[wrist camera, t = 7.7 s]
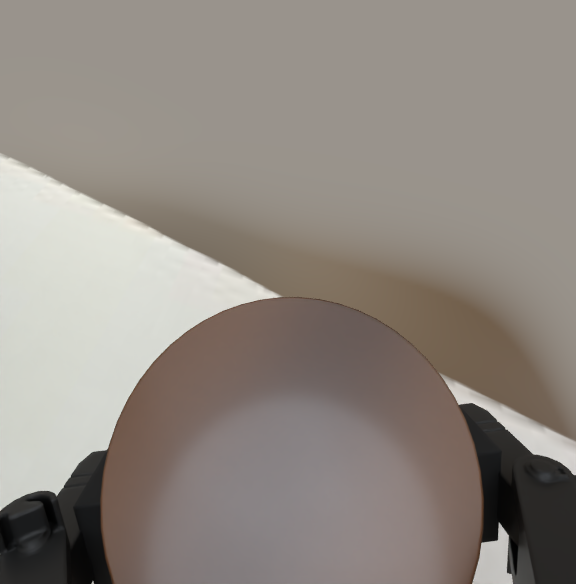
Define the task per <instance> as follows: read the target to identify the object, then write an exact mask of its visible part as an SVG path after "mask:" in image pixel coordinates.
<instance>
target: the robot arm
mask: <svg viewBox="0 0 576 584" xmlns="http://www.w3.org/2000/svg"><path fill="white" fill-rule="evenodd" d="M459 407H460V409H461V411H462V413H463V415H464V417H465V419H466V422H467V425H468V428H469V430H470V433H471V436H472V439H473V442H474V444H475V449H476V453H477V457H478V462H479V466H480V470H481V479H482V488H483V497H484V516H483V534H482V541H481V543H482V542H489V541H497V540H498V525H499V523H500V524H501V525H502V527H503V528H504V529H505V531H506V532H507V534H508V535H509V543H508V562H507V573H509V574H512V579H513V584H576V475H573V474H572V473H571V471H570V470H569V469H568V468H567V467H565V466H564V465H563V464H561V463H560V462H557V461H555V460H553V459H551V458H548V457H544V456H540V455H533V454H532V453H531V452H530V451H529V450H528V449H527V448H526V447H525V446H524V445H523V444H522V443H521V442H519V441H518V440H517V439H516V438H515V437H514V436H513V435H512V434H511V433H510V432H509V431H508V430H505V427H504V426H503V425H502V424H500V423H499V422H497V420H496V419H495V418H494V417H493V416H492V415H491V414H490V413H489V412H488V411H487V410H485V409H483V408H481V407H479V406H477V405H475V404H473V403H469V404H461V405H459ZM107 452H108V449H107V450H105V451H97V452H92V453H91V454H90V455H89V456H87V457H86V458H85V459H84V460H83V461H81V462H80V463H79V464H78V466H77V467H76V469H75V470H74V472H73V473H72V475H71V478H69V479H68V481H67V482H66V484H65V485H64V488H63V489H62V490H61V491H60V493H59V494H58V496H57V497H56V495H55V493H52V492H50V491H38V492H34V493H31V494H27V495H25V496H23V497H21V498H19V499H16V500H14V501H13V502H12V503H10V504H9V505H7V506H6V507H4V508H3V509H2V510H1V511H0V584H91V583H92V581H94V584H112V581H111V577H110V573H109V570H108V566H107V563H106V559H105V554H104V547H103V540H102V533H101V508H100V498H101V488H102V478H103V470H104V465H105V461H106V456H107Z"/></svg>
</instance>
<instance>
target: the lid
mask: <svg viewBox="0 0 576 584" xmlns="http://www.w3.org/2000/svg"><path fill="white" fill-rule="evenodd" d="M100 508H101V533H102V540H103V547H104V554H105V559H106V563H107V566H108V570H109V573H110V577H111V581H112V584H472V582H473V579H474V575H475V571H476V568H477V564H478V560H479V556H480V549H481V541H482V534H483V516H484V497H483V488H482V479H481V470H480V466H479V462H478V457H477V453H476V449H475V444H474V442H473V439H472V436H471V433H470V430H469V428H468V425H467V422H466V419H465V417H464V415H463V413H462V411H461V409H460V407H459V405H458V403H457V401H456V399H455V397H454V395H453V394H452V392H451V391H450V389H449V388H448V386H447V385H446V383H445V381H444V380H443V378H442V377H441V376H440V374H439V373H438V372H437V371H436V369H435V368H434V367H433V366H432V365H431V363H430V362H429V361H428V359H426V357H424V355H423V354H421V353H420V352H419V351H418V350H417V349H416V348H415V347H414V346H413V345H412V344H411V343H410V342H409V341H407V340H406V339H405V338H404V337H402V336H401V335H400V334H399V333H397V332H396V331H395V330H393V329H392V328H390V327H389V326H387V325H385V324H384V323H382V322H381V321H379V320H377V319H375V318H373V317H371V316H369V315H367V314H365V313H363V312H361V311H359V310H356V309H353V308H350V307H347V306H344V305H341V304H338V303H334V302H329V301H325V300H320V299H311V298H302V297H279V298H271V299H263V300H258V301H254V302H249V303H245V304H241V305H238V306H236V307H233V308H230V309H227V310H225V311H222V312H220V313H218V314H216V315H214V316H212V317H210V318H208V319H206V320H204V321H202V322H201V323H199V324H198V325H196V326H195V327H193V328H192V329H190V330H188V331H187V332H186V333H184V334H183V335H182V336H181V337H179V338H178V339H177V340H176V341H175V342H173V343H172V344H171V345H170V346H169V347H168V348H167V349H166V350H165V351H164V352H163V353H162V354H161V355H160V356H159V357H158V358H157V359H156V360H155V361H154V362H153V364H152V365H151V366H150V367H149V369H148V370H147V371H146V372H145V374H144V375H143V376H142V378H141V379H140V380H139V382H138V384H137V385H136V387H135V388H134V390H133V392H132V393H131V395H130V396H129V398H128V400H127V402H126V404H125V406H124V408H123V410H122V412H121V415H120V417H119V419H118V421H117V424H116V426H115V429H114V432H113V435H112V438H111V441H110V444H109V447H108V452H107V456H106V461H105V465H104V470H103V478H102V488H101V498H100Z"/></svg>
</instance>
